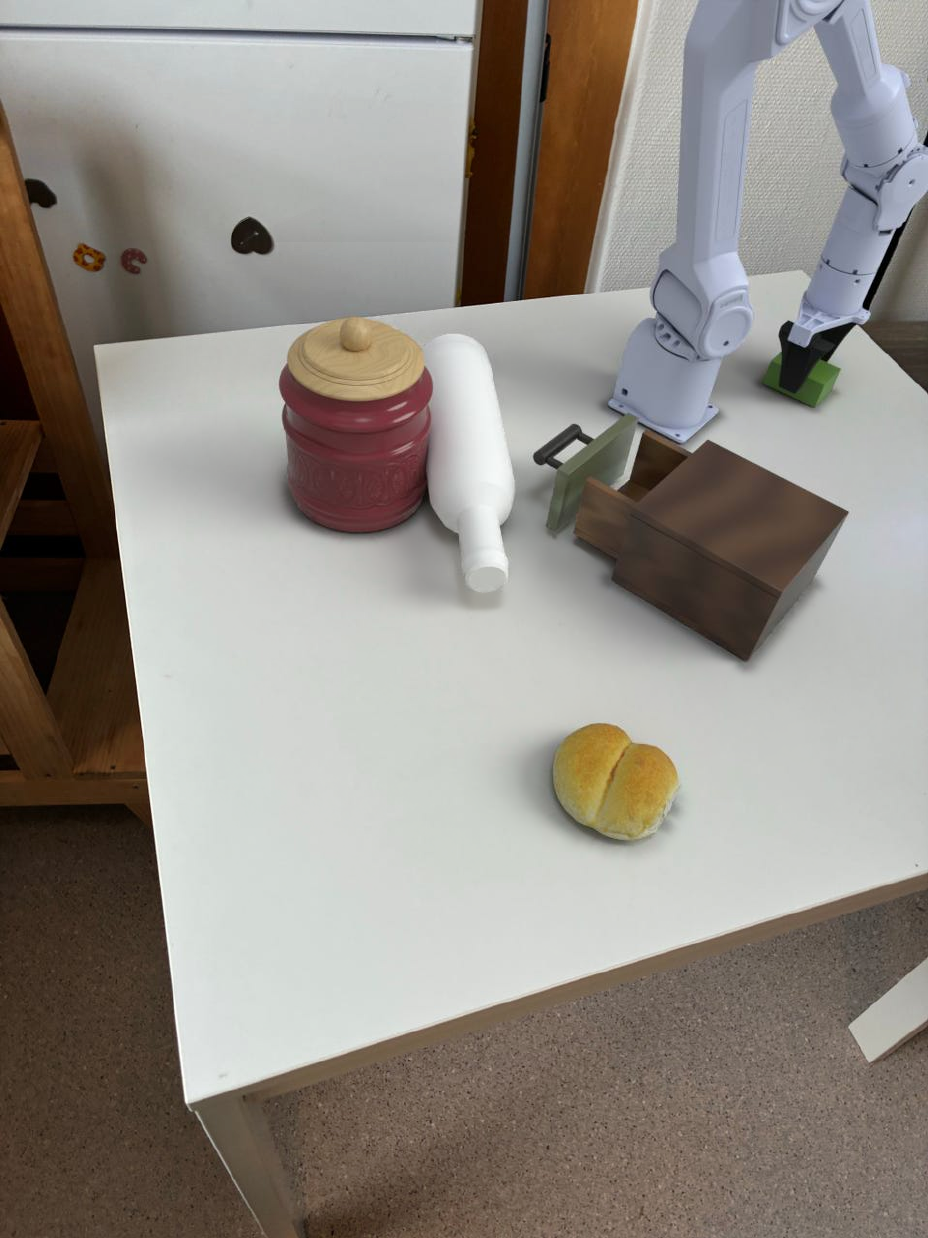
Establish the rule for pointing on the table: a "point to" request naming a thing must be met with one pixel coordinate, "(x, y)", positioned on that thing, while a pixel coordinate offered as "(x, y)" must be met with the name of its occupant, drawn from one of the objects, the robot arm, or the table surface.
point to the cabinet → (726, 546)
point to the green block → (813, 387)
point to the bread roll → (614, 782)
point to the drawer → (605, 479)
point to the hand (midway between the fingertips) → (801, 376)
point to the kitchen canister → (356, 424)
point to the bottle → (469, 457)
